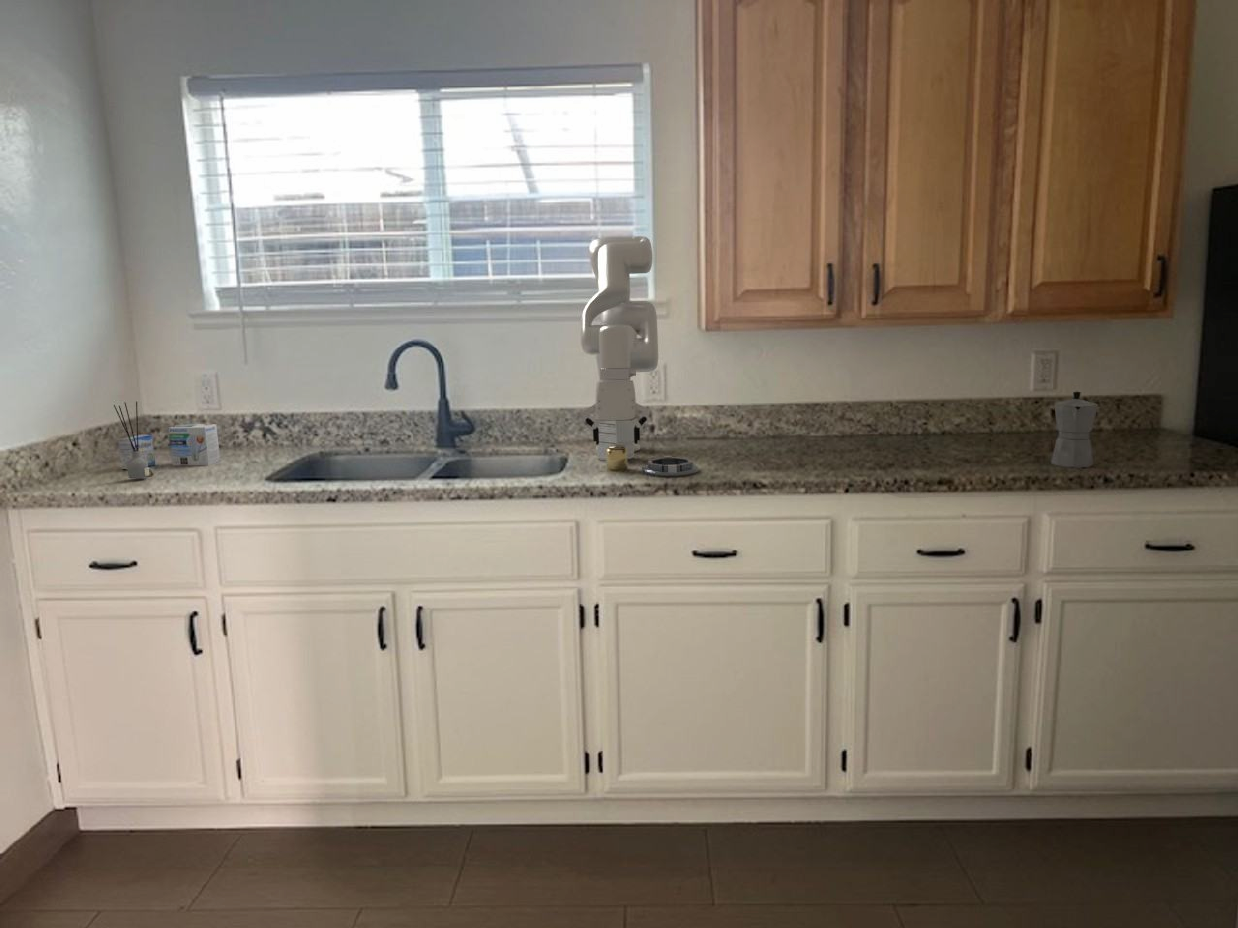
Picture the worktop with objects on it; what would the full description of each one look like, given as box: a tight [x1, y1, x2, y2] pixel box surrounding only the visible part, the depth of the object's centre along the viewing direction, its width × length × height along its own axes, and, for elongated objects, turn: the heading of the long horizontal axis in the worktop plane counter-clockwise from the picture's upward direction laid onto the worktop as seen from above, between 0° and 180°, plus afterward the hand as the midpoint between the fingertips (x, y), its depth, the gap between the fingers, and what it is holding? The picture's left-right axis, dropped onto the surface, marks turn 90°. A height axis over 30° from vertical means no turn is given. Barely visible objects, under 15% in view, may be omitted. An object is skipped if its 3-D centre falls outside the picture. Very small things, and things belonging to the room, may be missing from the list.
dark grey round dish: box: [641, 455, 699, 478], centre depth 219 cm, size 14×14×3 cm
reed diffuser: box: [113, 401, 156, 479], centre depth 224 cm, size 10×7×20 cm
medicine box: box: [117, 434, 156, 470], centre depth 242 cm, size 8×4×9 cm, turn 170°
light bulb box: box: [168, 423, 221, 467], centre depth 246 cm, size 11×7×11 cm, turn 87°
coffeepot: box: [1050, 391, 1099, 469], centre depth 216 cm, size 15×9×18 cm, turn 157°
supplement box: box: [595, 418, 635, 462], centre depth 237 cm, size 7×7×13 cm
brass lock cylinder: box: [606, 444, 628, 472], centre depth 223 cm, size 5×5×6 cm
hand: (616, 443), depth 222 cm, fingers open, 9 cm apart
